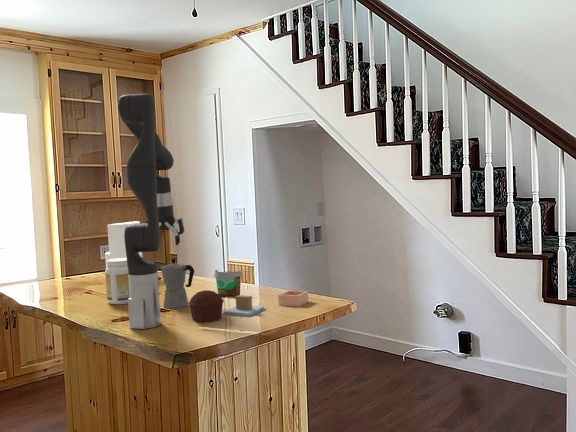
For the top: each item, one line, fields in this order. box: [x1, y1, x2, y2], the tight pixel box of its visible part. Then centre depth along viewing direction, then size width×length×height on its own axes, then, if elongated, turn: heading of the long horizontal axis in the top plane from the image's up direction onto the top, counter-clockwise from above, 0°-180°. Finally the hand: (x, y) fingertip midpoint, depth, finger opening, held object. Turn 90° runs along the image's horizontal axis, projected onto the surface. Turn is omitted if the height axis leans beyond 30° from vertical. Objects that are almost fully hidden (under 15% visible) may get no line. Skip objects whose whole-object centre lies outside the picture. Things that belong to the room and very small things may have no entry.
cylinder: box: [104, 220, 143, 269], centre depth 270 cm, size 17×17×28 cm
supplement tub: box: [104, 258, 130, 305], centre depth 219 cm, size 12×12×17 cm
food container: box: [213, 269, 243, 298], centre depth 220 cm, size 12×6×10 cm, turn 62°
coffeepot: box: [158, 257, 195, 310], centre depth 205 cm, size 15×9×18 cm, turn 66°
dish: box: [277, 290, 309, 308], centre depth 198 cm, size 8×8×4 cm
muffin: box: [188, 289, 225, 324], centre depth 181 cm, size 12×11×10 cm
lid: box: [223, 294, 265, 317], centre depth 188 cm, size 10×10×5 cm
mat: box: [221, 308, 268, 318], centre depth 188 cm, size 12×12×1 cm
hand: (166, 245), depth 214 cm, fingers open, 8 cm apart
